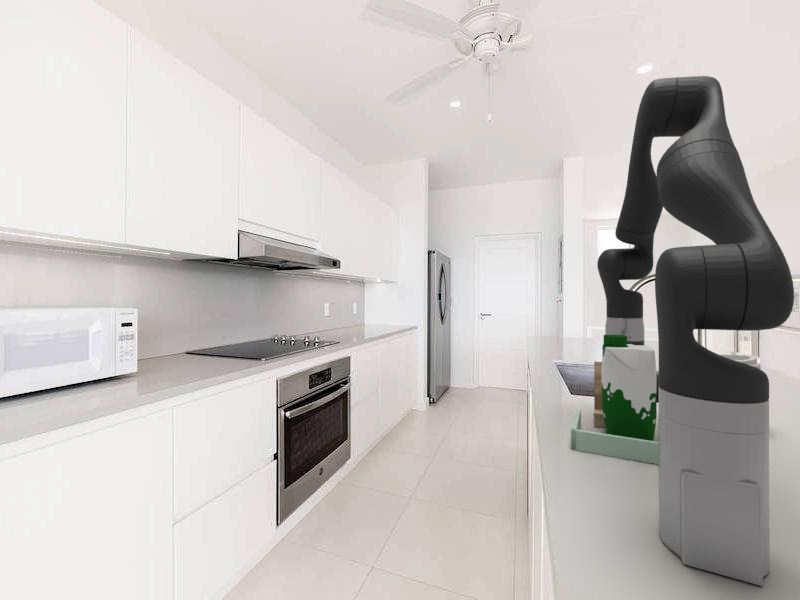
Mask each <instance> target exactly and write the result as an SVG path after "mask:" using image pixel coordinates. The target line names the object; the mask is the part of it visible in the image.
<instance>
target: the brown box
mask: <svg viewBox="0 0 800 600" xmlns="http://www.w3.org/2000/svg"><path fill="white" fill-rule="evenodd" d="M593 366H594V367H593V369H594V372H593V378H594V379H593V382H594V383H593V385H594V386H593V387H594V389H593V390H594V391H593V392H594V393H593V394H594V396H593V397H594V398H593V399H594V403H593V404H594V409H593V410H594V411H593V428H599V429H600V428H601V429H605V423H604V418H603V412H602V382H601V372H602V361H594V362H593Z"/></svg>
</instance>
